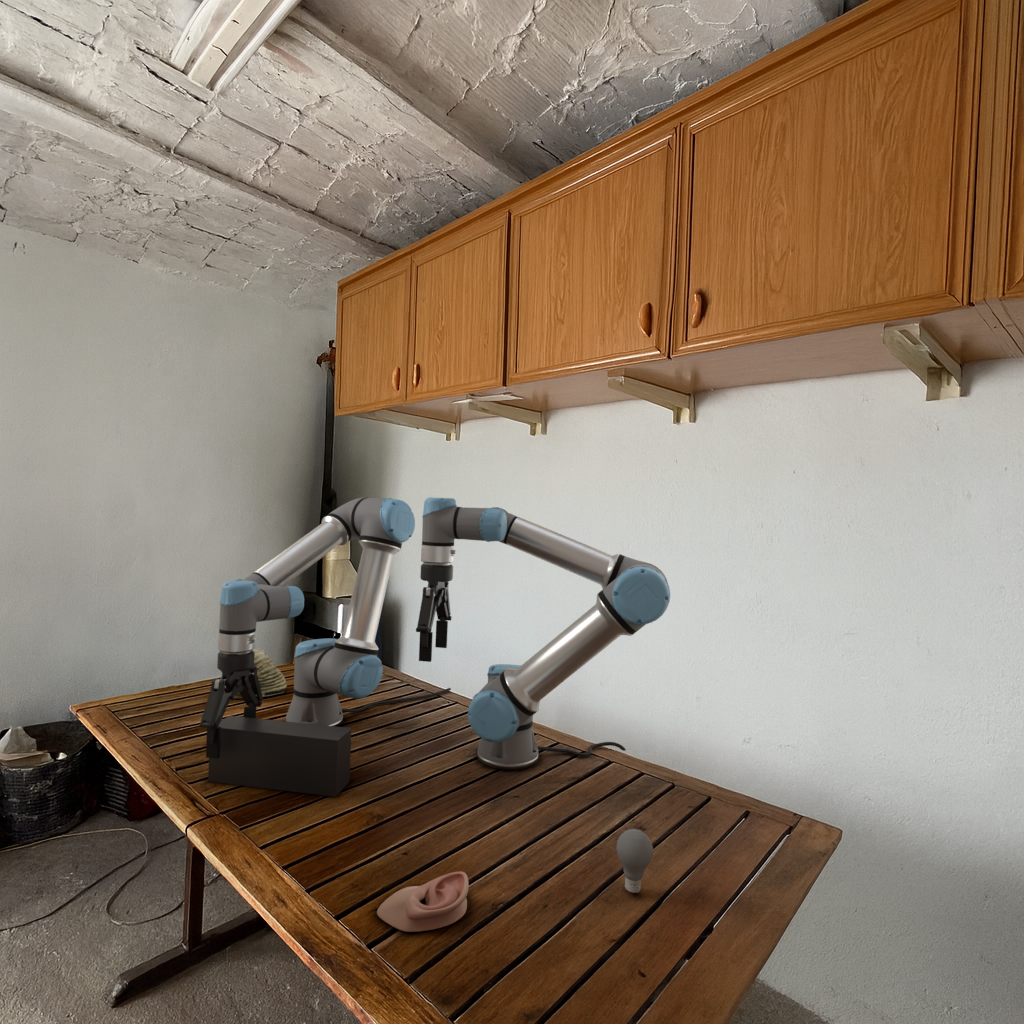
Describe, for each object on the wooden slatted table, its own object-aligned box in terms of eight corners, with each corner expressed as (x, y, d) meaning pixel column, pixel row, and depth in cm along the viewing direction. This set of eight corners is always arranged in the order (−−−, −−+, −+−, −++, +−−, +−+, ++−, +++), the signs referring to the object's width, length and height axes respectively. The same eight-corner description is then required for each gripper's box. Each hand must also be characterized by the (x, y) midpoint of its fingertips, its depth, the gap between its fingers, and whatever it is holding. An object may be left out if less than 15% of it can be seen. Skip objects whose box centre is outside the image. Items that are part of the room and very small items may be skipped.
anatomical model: (369, 898, 94) (398, 856, 105) (368, 925, 94) (397, 880, 106) (454, 914, 92) (475, 869, 103) (453, 941, 92) (474, 893, 103)
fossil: (218, 695, 195) (220, 647, 195) (278, 685, 208) (279, 640, 207) (228, 703, 189) (230, 653, 188) (289, 692, 201) (290, 645, 201)
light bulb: (610, 879, 108) (613, 822, 108) (644, 879, 109) (647, 822, 109) (619, 902, 102) (622, 840, 102) (655, 901, 103) (658, 840, 103)
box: (207, 781, 138) (209, 726, 138) (228, 767, 146) (229, 715, 145) (335, 796, 134) (337, 740, 134) (349, 781, 141) (351, 728, 141)
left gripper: (217, 665, 128) (212, 770, 128) (280, 641, 153) (276, 728, 153) (184, 662, 129) (178, 765, 129) (252, 638, 154) (247, 725, 154)
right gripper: (438, 569, 135) (434, 668, 135) (464, 559, 160) (461, 643, 160) (404, 567, 136) (400, 666, 136) (436, 558, 161) (432, 641, 161)
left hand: (231, 746), depth 141 cm, fingers open, 13 cm apart
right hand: (433, 654), depth 148 cm, fingers open, 13 cm apart
